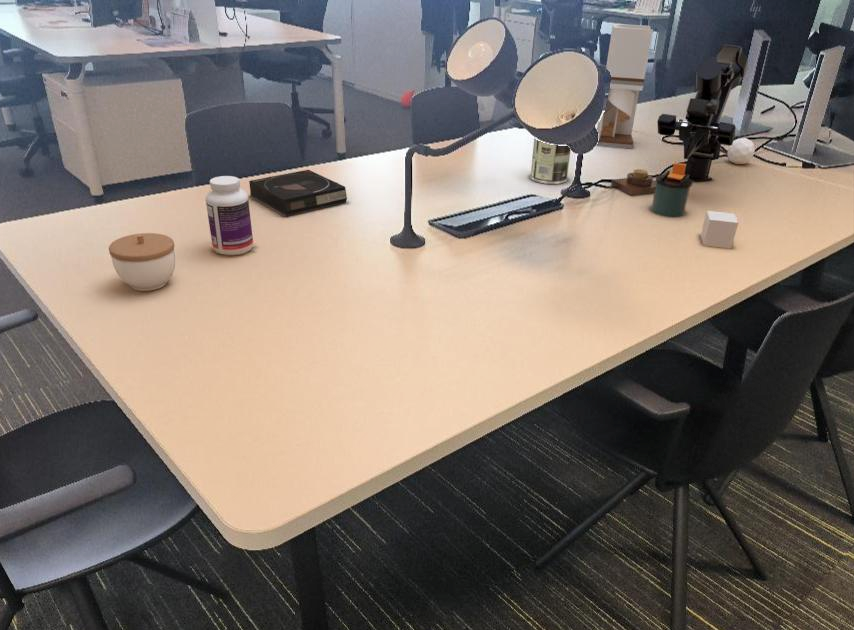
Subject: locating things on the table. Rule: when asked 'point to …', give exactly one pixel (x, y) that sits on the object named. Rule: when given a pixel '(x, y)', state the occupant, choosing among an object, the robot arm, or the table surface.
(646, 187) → the block
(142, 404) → the table surface
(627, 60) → the white pillar on base
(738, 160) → the geometric ball
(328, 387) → the table surface
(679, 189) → the tumbler
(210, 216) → the pill bottle
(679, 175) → the slider
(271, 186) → the portable cd player
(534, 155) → the coffee can
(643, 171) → the call button
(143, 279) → the trinket box
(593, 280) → the table surface
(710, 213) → the white cube
